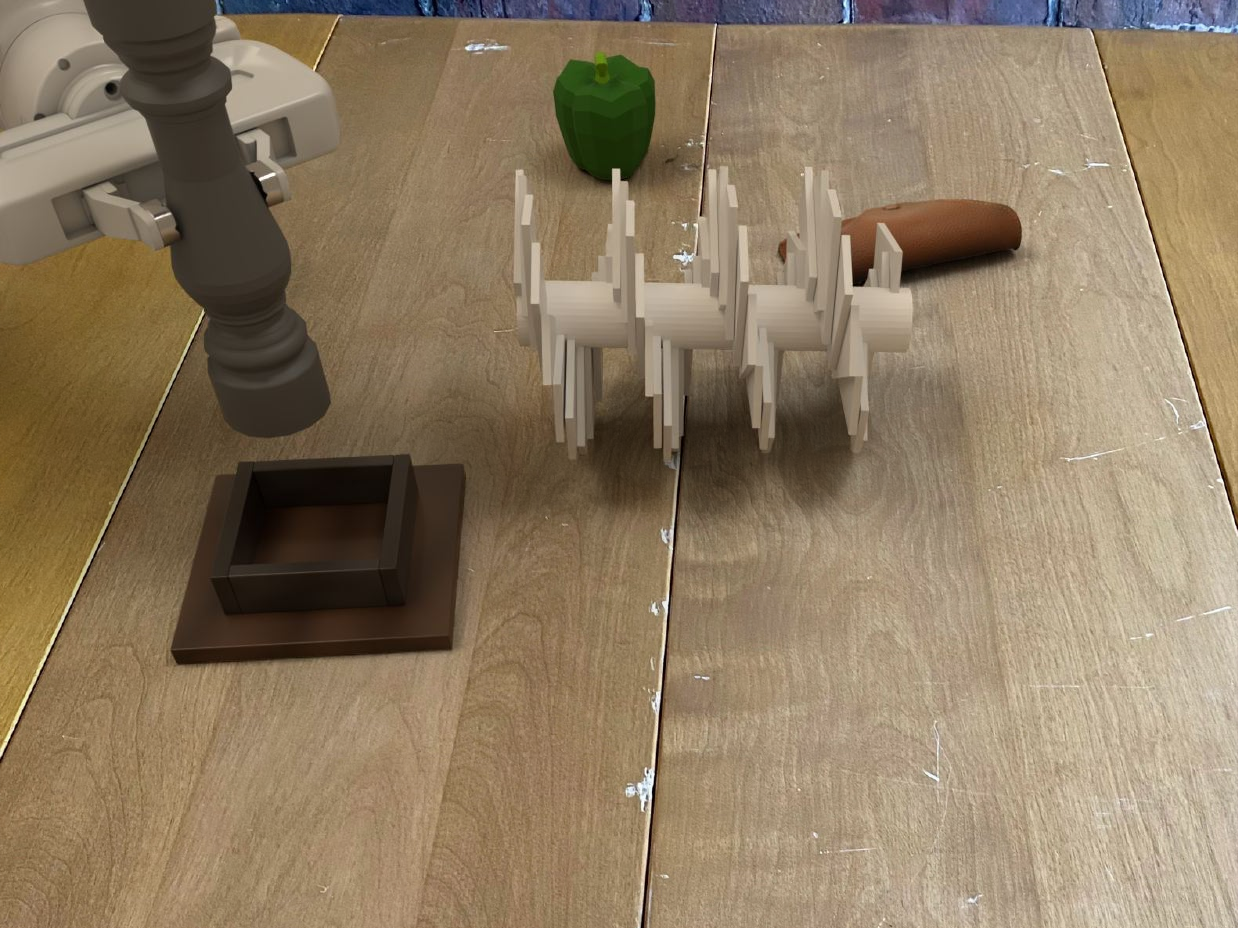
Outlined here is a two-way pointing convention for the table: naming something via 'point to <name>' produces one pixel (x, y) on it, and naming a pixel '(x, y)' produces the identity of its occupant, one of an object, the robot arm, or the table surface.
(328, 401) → the grey baluster post
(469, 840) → the table surface
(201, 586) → the socket pad
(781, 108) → the table surface
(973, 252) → the sunglasses case
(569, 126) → the bell pepper
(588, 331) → the spiral staircase
